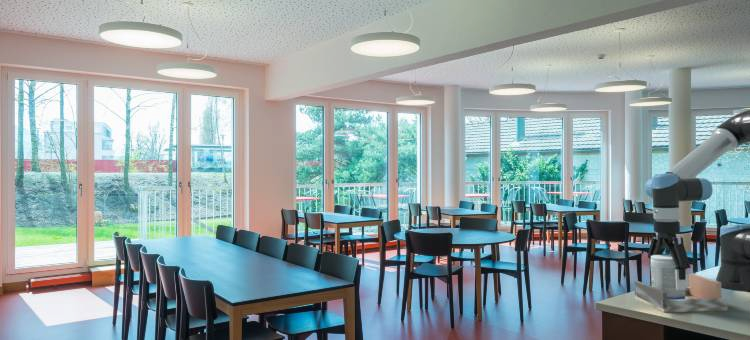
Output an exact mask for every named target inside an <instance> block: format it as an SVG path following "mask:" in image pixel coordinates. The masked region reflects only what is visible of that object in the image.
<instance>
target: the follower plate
mask: <svg viewBox="0 0 750 340" xmlns="http://www.w3.org/2000/svg"><path fill="white" fill-rule="evenodd" d="M688 275H689V276H688V277H689V278H688V280H689V281H688V284H689V286H688V287H690V295H693V296H695V297H698V298H700V299H714V298H723V296H722V294H723V293H722V287H721V282H718V281H716V280H715V279H711V278H708V277H705V276H701V275H698V274H696V273H695V274H694V273H689V274H688Z"/></svg>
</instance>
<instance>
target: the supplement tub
mask: <svg viewBox="0 0 750 340" xmlns="http://www.w3.org/2000/svg"><path fill="white" fill-rule="evenodd" d="M675 268H676V265H675V262H674V260H673V258H672V256H671V254H662V255H652V256H651V259H650V276H651V277H650V278H651V287H654V288H656V289H658V290H661V291H663V292H666V293H667V300H680V299H685V290H676V277H675Z"/></svg>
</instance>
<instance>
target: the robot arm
mask: <svg viewBox="0 0 750 340" xmlns="http://www.w3.org/2000/svg"><path fill="white" fill-rule="evenodd" d="M748 143H750V109H749V110H744V111H742V112H741V111H740V112H739V113H737V114H735V115H733V116H731V117H729V118H728V119H726V120H725V121H724V122H722V123H721V124H719V125H718V126H717V127H715V129H713V130H712V132H711V134H710V136H709V137H708V138H706V140H704V141H702V143H700V145H698V146H697V147H696V148H694V149H693V150H691V152H689V153H688V154H687V155H686V156H685V157H684V158H682V159H681V160H680V161H678V162H677V163H676V164H675V165H674V166H672V167H670V169H668V170H667V171H666V172H665V173H655V174H653V176H652V178H650V179H648V180H647V181H646V182H645V186H644V189H645V193H646V195H647V196H648V197H649V198H652V207H653V209H652V215H653V220H654V221H653V232H652V233H651V241H650V244H649V248H648V253H647V258H648V259H650V260H651V256H652V255H664V254H663V253H664V251H665V250H667V251H668V252H669V255H671V256H672V258H673V260H674V262H675V265H676V268H675V277H676V290H686V287H687V285H686V278H687V277H686V276H687V275H686V270H688V269H691V264H690V261H689V258H688V254H687V251H686V249H685V248H686V247H685V245H684V238H683V236H682V237H681V236H679V237H677V234H678V233H680V232H681V226H680V225H681V223H680V221H679V220H680V218H681V217H680V202H701V201H706V200H708V199H710V198H711V197H712V195H713V190H714V189H713V185H712V183H711V181H710V180H708V179H706V178H702V177H700V178H699V177H697V176H699V174H701V173H703V171H705V170H706V169H707V168H708V167H710V166H711V165H713V163H714V162H716V161H717V160H719V158H720V157H722V156H723V155H725V154H726V153H727V152H728V151H733V150H735V149H736V148H738V147H739V146H742V145H745V144H748ZM719 233H720V234H719V246H720V247H719V248H720V266H719V269H718V272H717V276H716V277H715V281H718V282H721V288H723V289H727V290H734V291H743V292H745V291H746V292H747V291H748V292H750V224H749V223H748V224H747V223H746V224H730V225H728V224H727V225H725V224H724V225H722V226H721V227H720V232H719Z"/></svg>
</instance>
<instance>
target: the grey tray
mask: <svg viewBox="0 0 750 340" xmlns="http://www.w3.org/2000/svg"><path fill="white" fill-rule="evenodd" d="M634 299H635V300H637V301H640V302H641V303H642V304H643V303H644V304H645V305H647V306H650V307H652V308H654V309H657V310H658V311H660V312H662V313H682V312H683V313H685V312H689V311H691V312H718V311H719V312H722V311H725V312H726V311H728V298H723V297H722V298H714V299H700V298H698V297H695V296H693V295H690V286H686V290H685V299H680V300H667V293H666V292H663V291H661V290H658V289H656V288H654V287H652V285H648V284H646V283H643V282H642V281H639V280H635V281H634ZM689 313H690V312H689Z"/></svg>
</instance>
